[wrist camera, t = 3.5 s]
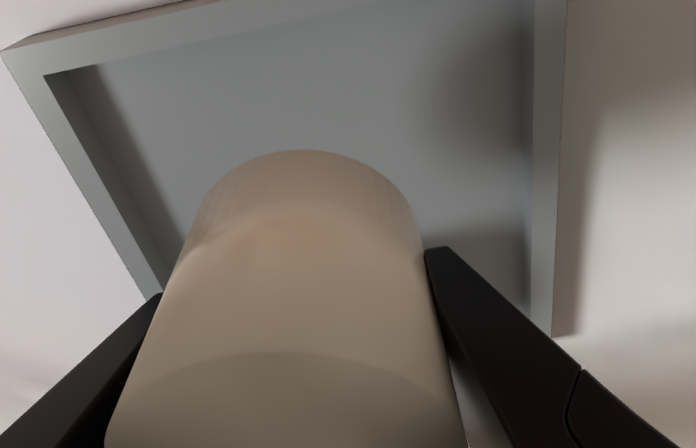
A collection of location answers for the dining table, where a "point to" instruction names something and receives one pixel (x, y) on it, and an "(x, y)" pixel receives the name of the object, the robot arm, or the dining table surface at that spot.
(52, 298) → the dining table surface
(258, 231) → the pebble sand
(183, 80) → the parts tray
